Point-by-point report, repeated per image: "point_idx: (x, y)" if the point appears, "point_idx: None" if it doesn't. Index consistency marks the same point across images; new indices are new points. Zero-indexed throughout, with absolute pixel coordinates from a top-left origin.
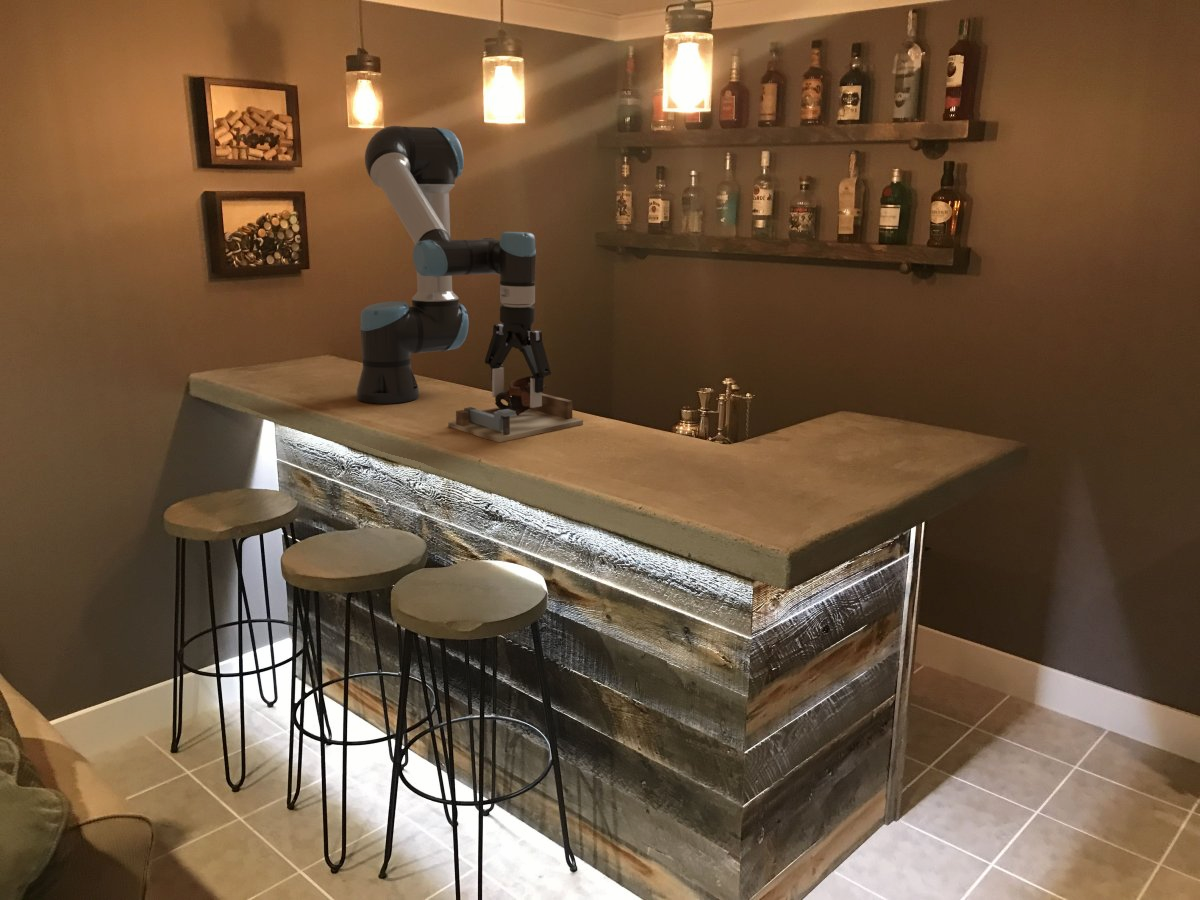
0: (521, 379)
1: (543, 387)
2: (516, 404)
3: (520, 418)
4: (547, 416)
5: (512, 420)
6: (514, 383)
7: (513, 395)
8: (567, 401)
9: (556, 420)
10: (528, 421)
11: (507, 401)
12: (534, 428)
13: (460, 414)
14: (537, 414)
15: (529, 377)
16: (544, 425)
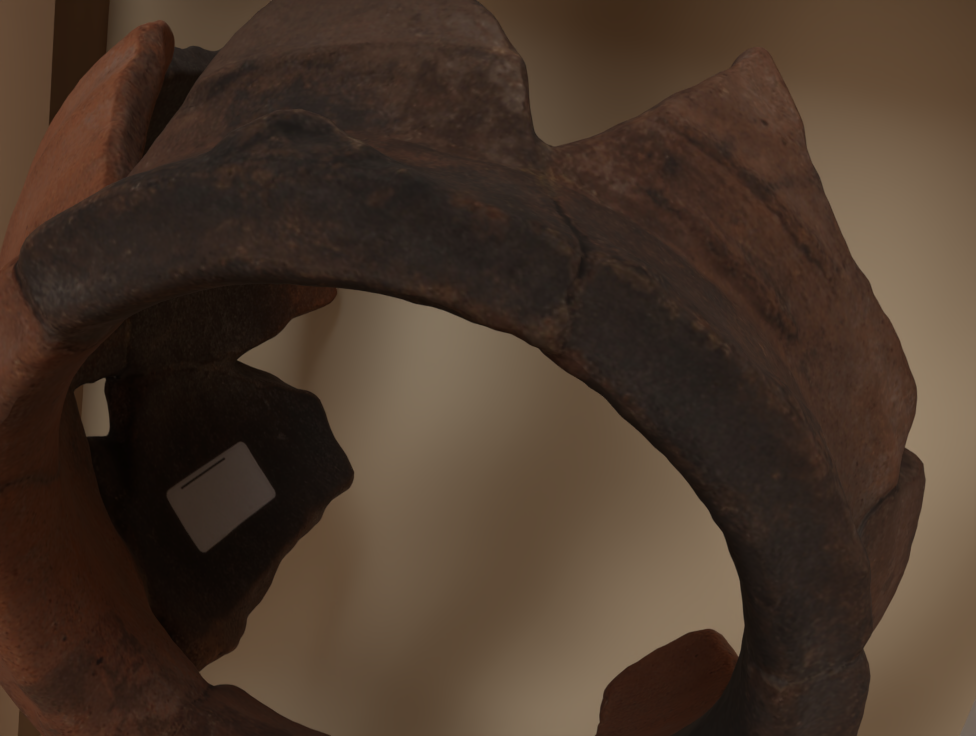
0: (35, 424)
1: (899, 394)
2: (220, 294)
3: (443, 371)
4: (690, 29)
5: (431, 512)
6: (64, 607)
7: (104, 364)
8: None
9: (965, 164)
10: (636, 444)
11: (244, 613)
12: (926, 695)
13: None
14: None
15: (178, 289)
16: (961, 509)
